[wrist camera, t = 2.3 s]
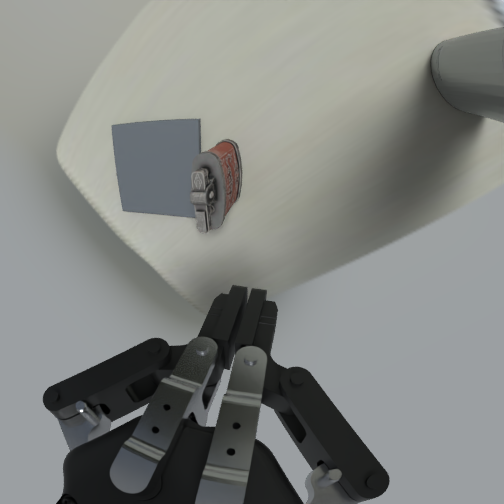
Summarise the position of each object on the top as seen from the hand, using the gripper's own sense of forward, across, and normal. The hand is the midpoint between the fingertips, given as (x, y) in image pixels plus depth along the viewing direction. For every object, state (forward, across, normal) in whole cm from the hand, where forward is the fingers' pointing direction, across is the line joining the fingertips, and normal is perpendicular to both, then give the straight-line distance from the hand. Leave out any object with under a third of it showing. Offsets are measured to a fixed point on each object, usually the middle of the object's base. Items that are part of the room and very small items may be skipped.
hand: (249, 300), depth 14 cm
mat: (+21, +17, 0) cm, 27 cm away
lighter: (+21, +7, 0) cm, 22 cm away
